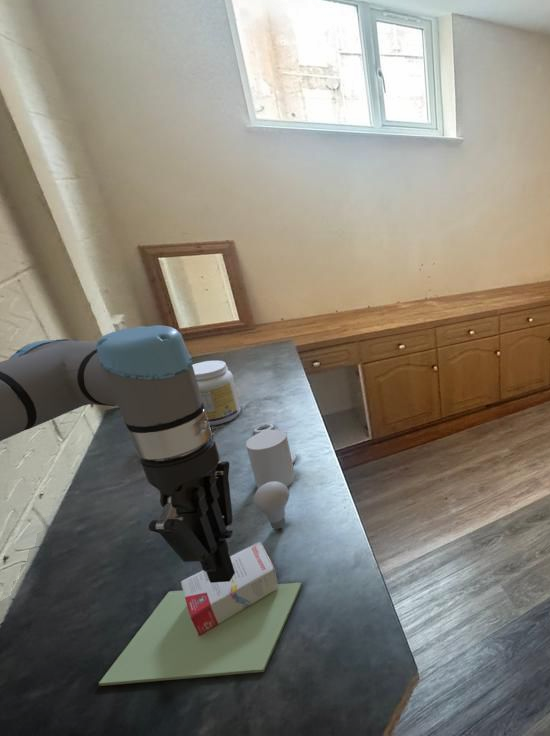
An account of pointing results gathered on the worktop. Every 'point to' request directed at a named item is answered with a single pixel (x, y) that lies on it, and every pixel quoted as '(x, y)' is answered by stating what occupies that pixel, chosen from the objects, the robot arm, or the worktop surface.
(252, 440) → the cup
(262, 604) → the mat
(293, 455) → the wrench
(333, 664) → the worktop surface
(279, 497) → the lightbulb
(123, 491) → the worktop surface
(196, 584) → the ink box
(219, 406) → the supplement tub
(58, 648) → the worktop surface
